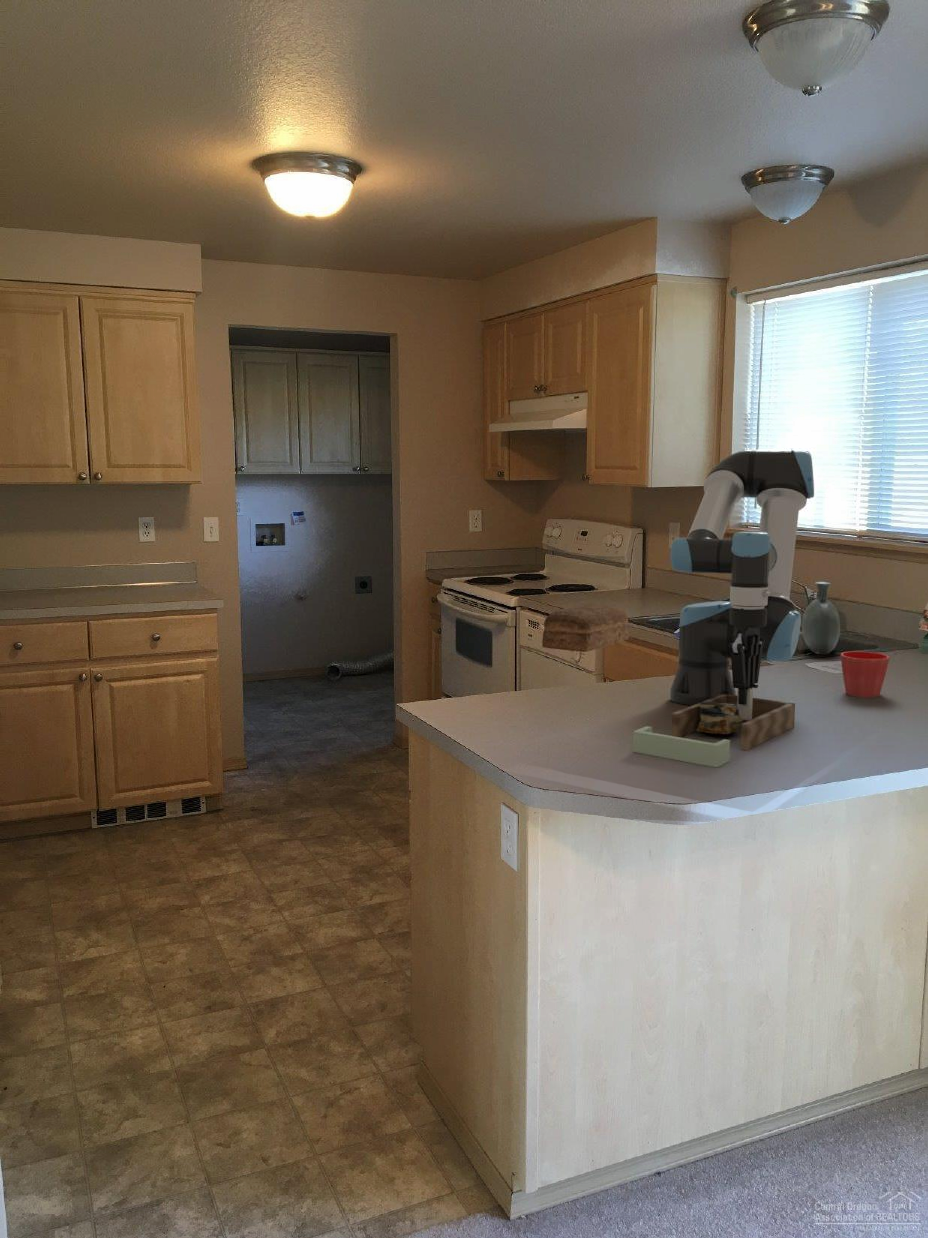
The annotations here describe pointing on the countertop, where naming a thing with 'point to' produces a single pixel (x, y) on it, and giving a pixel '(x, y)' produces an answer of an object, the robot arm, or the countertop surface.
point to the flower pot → (864, 672)
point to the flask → (821, 623)
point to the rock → (719, 718)
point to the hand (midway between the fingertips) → (744, 718)
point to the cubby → (762, 727)
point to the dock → (681, 748)
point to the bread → (585, 628)
